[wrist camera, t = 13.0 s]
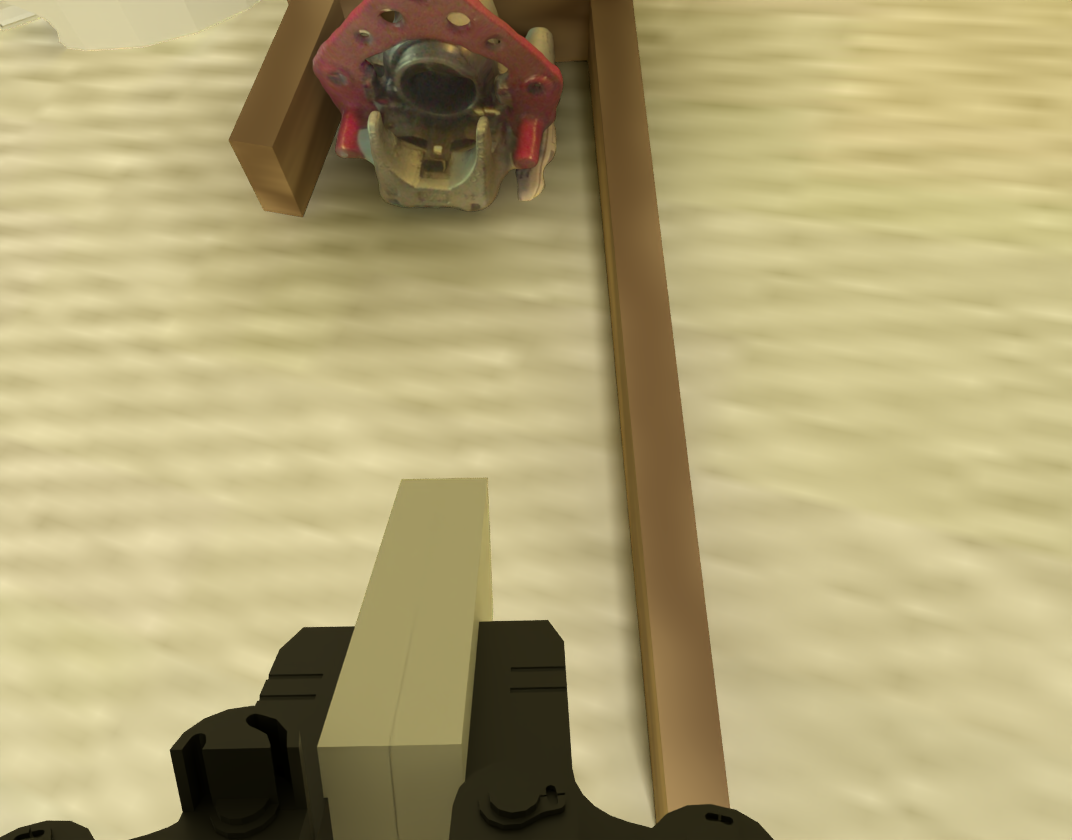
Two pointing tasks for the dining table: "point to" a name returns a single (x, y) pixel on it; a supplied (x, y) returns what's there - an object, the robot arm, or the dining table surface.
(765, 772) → the dining table surface
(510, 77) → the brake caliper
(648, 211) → the brown wooden bar frame
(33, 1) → the grey ring base
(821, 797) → the dining table surface
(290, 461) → the dining table surface
